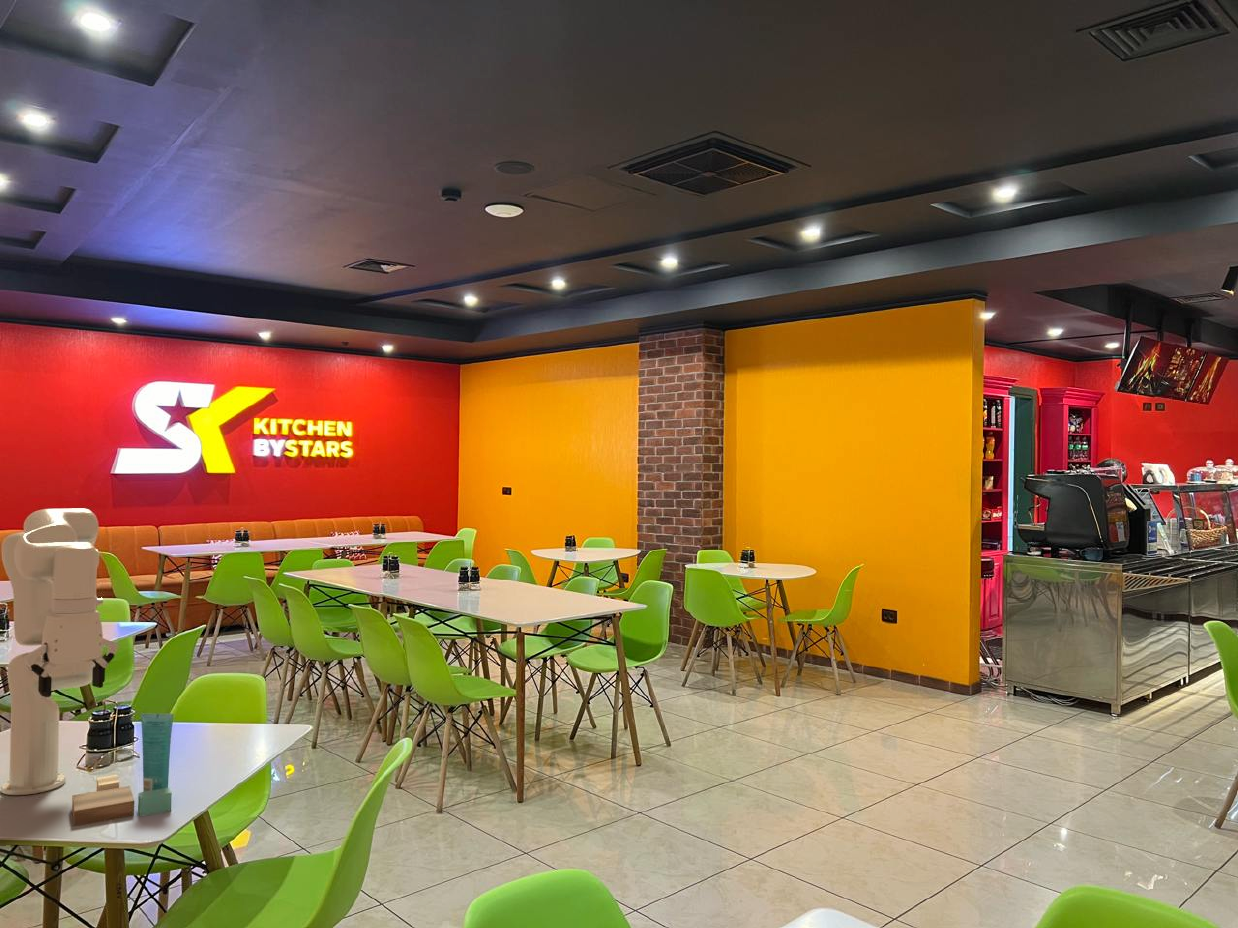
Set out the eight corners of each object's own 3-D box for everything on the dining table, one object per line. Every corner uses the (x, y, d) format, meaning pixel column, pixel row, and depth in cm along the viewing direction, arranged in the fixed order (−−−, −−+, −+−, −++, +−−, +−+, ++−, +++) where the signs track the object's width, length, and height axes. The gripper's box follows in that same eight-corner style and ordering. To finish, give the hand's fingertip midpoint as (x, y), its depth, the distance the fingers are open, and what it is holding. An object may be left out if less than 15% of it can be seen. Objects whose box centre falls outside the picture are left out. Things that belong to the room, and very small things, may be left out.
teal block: (140, 816, 186) (140, 797, 186) (138, 810, 190) (138, 792, 190) (171, 810, 190) (171, 792, 190) (168, 805, 193) (169, 787, 193)
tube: (176, 794, 200) (178, 710, 200) (167, 801, 195) (169, 716, 195) (142, 795, 199) (144, 711, 199) (133, 802, 194) (135, 716, 195)
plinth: (72, 808, 190) (72, 795, 190) (129, 799, 196) (129, 785, 196) (74, 825, 181) (74, 810, 181) (134, 814, 187) (134, 800, 187)
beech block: (96, 795, 199) (96, 777, 199) (116, 791, 201) (116, 774, 201) (98, 803, 194) (98, 785, 194) (118, 799, 196) (119, 781, 196)
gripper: (110, 600, 185) (108, 680, 184) (17, 609, 170) (15, 696, 170) (127, 603, 180) (125, 685, 180) (34, 613, 166) (32, 702, 166)
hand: (72, 691), depth 175 cm, fingers open, 9 cm apart
